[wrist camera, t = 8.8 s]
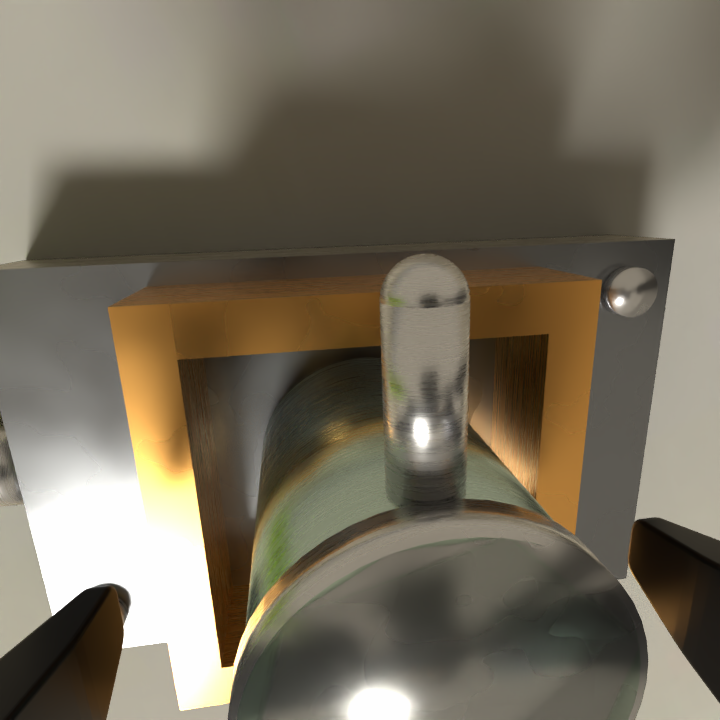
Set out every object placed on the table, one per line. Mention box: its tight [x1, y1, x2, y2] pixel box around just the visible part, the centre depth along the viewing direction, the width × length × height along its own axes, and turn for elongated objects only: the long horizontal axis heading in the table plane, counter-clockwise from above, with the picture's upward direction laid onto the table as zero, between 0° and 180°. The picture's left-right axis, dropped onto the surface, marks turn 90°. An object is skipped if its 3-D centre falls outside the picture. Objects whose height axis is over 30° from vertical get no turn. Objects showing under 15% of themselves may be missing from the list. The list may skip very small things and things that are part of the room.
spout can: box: [228, 254, 648, 720], centre depth 9 cm, size 5×8×7 cm, turn 2°
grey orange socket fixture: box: [0, 235, 675, 710], centre depth 13 cm, size 18×10×5 cm, turn 92°
